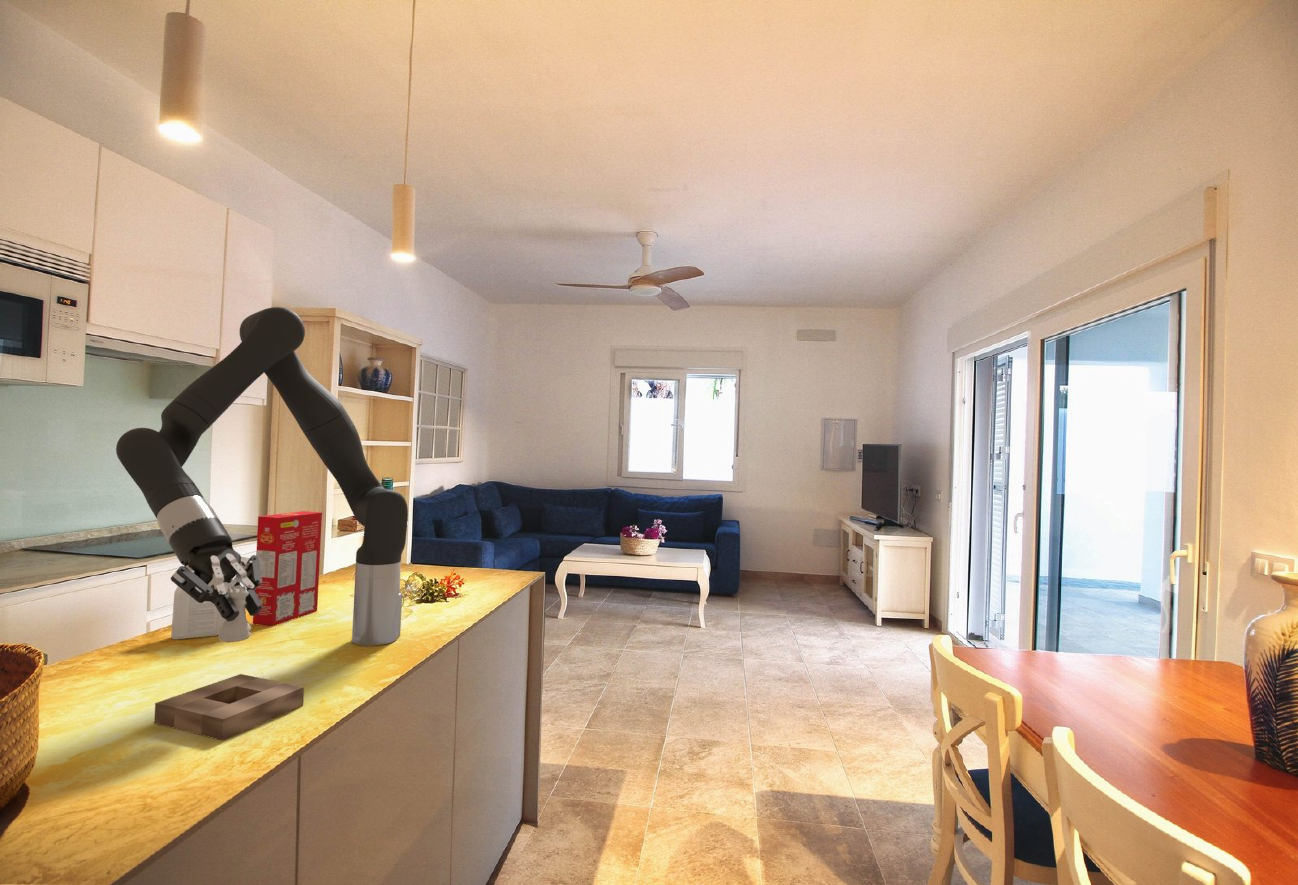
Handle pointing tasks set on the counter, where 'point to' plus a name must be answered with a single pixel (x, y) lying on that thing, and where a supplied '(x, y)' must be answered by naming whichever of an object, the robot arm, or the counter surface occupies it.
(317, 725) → the counter surface
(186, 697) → the socket board
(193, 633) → the photo printer
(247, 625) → the rook chess piece
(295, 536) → the food packaging
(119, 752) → the counter surface
